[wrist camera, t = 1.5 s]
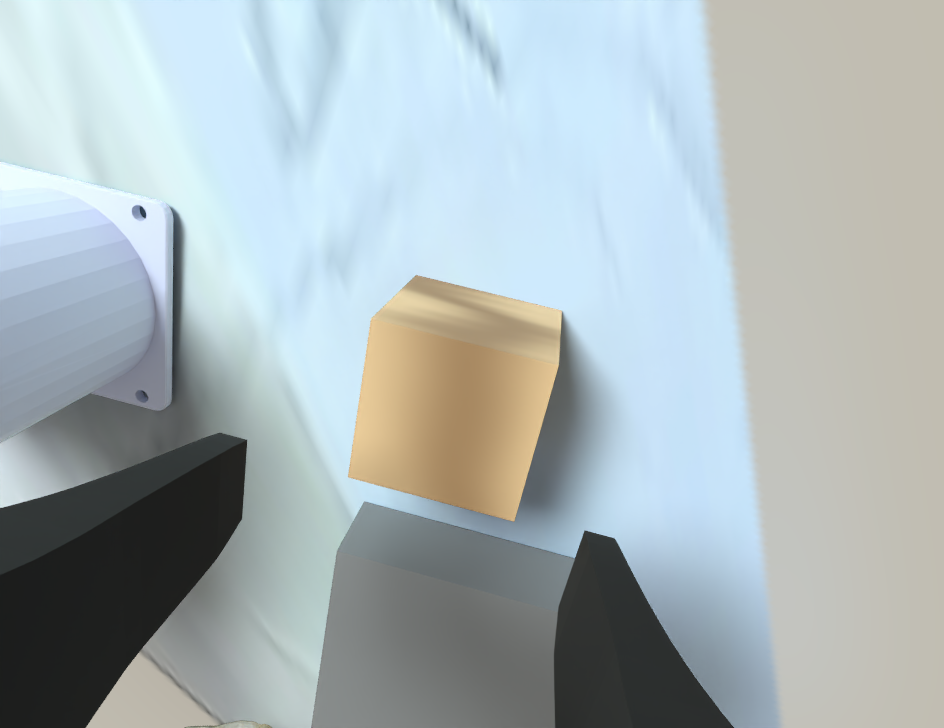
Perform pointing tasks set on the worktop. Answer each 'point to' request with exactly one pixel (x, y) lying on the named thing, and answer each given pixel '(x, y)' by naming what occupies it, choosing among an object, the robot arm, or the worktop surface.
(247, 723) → the pastry
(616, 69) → the worktop surface
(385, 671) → the gray block
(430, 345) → the oak block
